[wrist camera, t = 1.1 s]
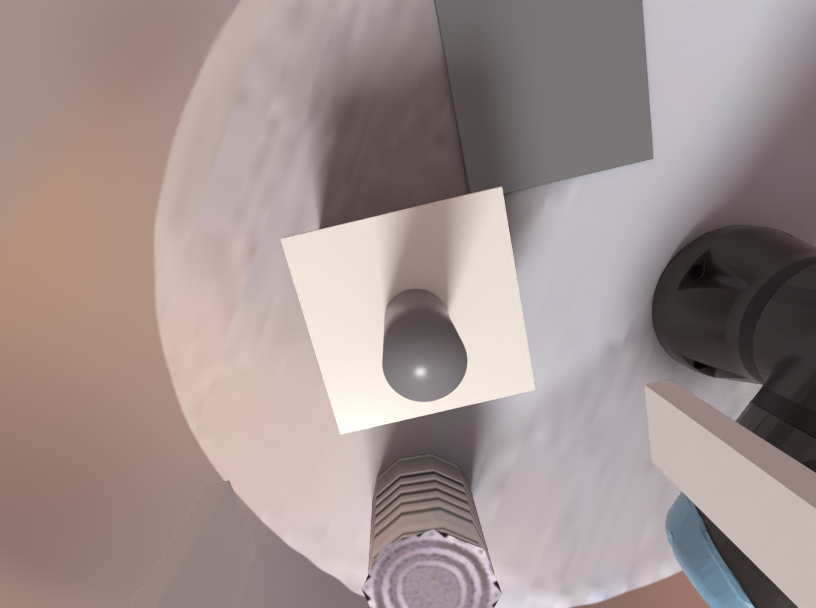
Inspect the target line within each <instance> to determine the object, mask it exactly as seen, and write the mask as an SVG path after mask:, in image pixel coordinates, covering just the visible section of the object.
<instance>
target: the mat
mask: <svg viewBox="0 0 816 608" xmlns="http://www.w3.org/2000/svg"><path fill="white" fill-rule="evenodd" d="M434 2H435V7H436V13H437V18H438V24H439V29H440V35H441V40H442V45H443V51H444V56H445V62H446V67H447V73H448V78H449V83H450V89H451V94H452V100H453V105H454V111H455V116H456V122H457V127H458V132H459V138H460V143H461V149H462V154H463V160H464V165H465V170H466V176H467V181H468V187H469V192H470V193H474V192H479V191H483V190H487V189H491V188H496V187H502V189H503V194H506V193H510V192H514V191H519V190H523V189H527V188H531V187H535V186H540V185H544V184H548V183H552V182H557V181H561V180H565V179H569V178H574V177H578V176H582V175H586V174H590V173H595V172H599V171H603V170H607V169H612V168H616V167H620V166H624V165H629V164H633V163H637V162H641V161H646V160H650V159H653V148H652V134H651V120H650V106H649V92H648V78H647V64H646V50H645V35H644V21H643V7H642V0H434Z"/></svg>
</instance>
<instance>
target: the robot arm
mask: <svg viewBox="0 0 816 608" xmlns="http://www.w3.org/2000/svg"><path fill="white" fill-rule="evenodd" d="M652 318H653V325H654V330H655V333H656V336H657V338H658V340H659V342H660V344H661V345H662V347H663V348H664V350H665V351H666V352H667V353H668V354H669V355H670V356H671V357H672V358H674V359H675V360H676V361H678V362H680V363H681V364H683V365H685V366H687V367H689V368H690V369H692V370H694V371H696V372H698V373H701V374H704V375H707V376H710V377H715V378H722V379H728V380H735V381H742V382H748V383H755V384H762V385H763V386H762V388H761V389H760V390H759V392H758V393H757V394H756V396H755V397H754V398H753V400H752V401H751V402H750V403H749V404H748V406H747V407H746V408H745V410H744V411H743V412H742V414H741V415H740V416H739V417H738V419H737V420H736V421H734V420H732V419H731V418H729V417H728V416H726V415H724V414H723V413H721V412H720V411H718V410H717V409H715V408H714V407H712V406H710V405H709V404H707V403H706V402H704V401H703V400H701V399H699V398H698V397H696V396H695V395H693V394H692V393H690V392H689V391H687V390H685V389H684V388H682V387H681V386H679V385H678V384H676V383H675V382H673V381H671V380H670V379H667V380H663V381H659V382H654V383H650V384H646V385H645V395H646V407H647V418H648V429H649V440H650V452H651V461H652V462H653V463H654V464H655V465H656V466H657V467H658V468H659V469H660V470H661V471H662V472H663V473H664V474H665V475H666V476H667V477H668V478H669V479H670V480H671V481H672V482H673V483H674V484H675V485H676V486H677V487H678V488H679V489H680V490H681V491H682V492H681V493H680V495H679V496H678V498H677V499H676V501H675V502H674V504H673V505H672V507H671V508H670V509H669V511H668V514H667V517H666V533H667V537H668V541H669V543H670V545H671V547H672V549H673V552H674V555H675V557H676V559H677V561H678V562H679V564H680V566H681V568H682V569H683V571H684V572H685V574H686V575H687V577H688V578H689V580H690V581H691V583H692V584H693V585H694V586H695V588H696V589H697V591H698V592H699V593H700V595H701V596H702V597H703V598H704V600H705V601H706V602H707V604H708V605H709V606H710V607H711V608H816V247H813V246H811V245H809V244H807V243H805V242H803V241H801V240H799V239H797V238H795V237H793V236H791V235H789V234H787V233H785V232H782V231H779V230H775V229H770V228H764V227H752V226H731V227H725V228H721V229H717V230H715V231H712V232H709V233H707V234H705V235H703V236H701V237H699V238H698V239H696V240H694V241H693V242H691V243H690V244H689V245H687V246H686V247H685V248H684V249H683V250H682V251H680V252H679V253H678V254H677V255H676V257H675V258H674V259H673V260H672V261H671V263H670V264H669V265H668V267H667V268H666V270H665V271H664V273H663V275H662V277H661V279H660V281H659V283H658V286H657V289H656V292H655V295H654V300H653V307H652ZM256 553H257V548H256V545H255V543H254V540H253V538H252V536H251V533H250V530H249V528H248V525H247V523H246V520H245V518H244V515H243V513H242V510H241V508H240V506H239V503H238V501H237V498H236V496H235V493H234V491H233V488H232V486H231V483H230V481H225V482H221V483H216V484H211V485H207V486H205V487H204V489H203V491H202V492H201V494H200V495H199V497H198V498H197V500H196V502H195V503H194V505H193V506H192V508H191V509H190V511H189V513H188V514H187V516H186V517H185V519H184V520H183V522H182V524H181V525H180V526H179V528H178V530H177V531H176V533H175V534H174V536H173V537H172V539H171V540H170V542H169V544H168V545H167V547H166V549H165V550H164V551H163V553H162V555H161V556H160V558H159V559H158V561H157V563H156V564H155V565H154V567H153V569H152V570H151V572H150V573H149V575H148V576H147V578H146V579H145V581H144V583H143V584H142V586H141V587H140V589H139V590H138V592H137V593H136V595H135V597H134V598H133V600H132V601H131V603H130V604H129V606H128V608H236V607H237V604H238V601H239V599H240V596H241V593H242V591H243V588H244V585H245V583H246V580H247V577H248V575H249V572H250V569H251V567H252V564H253V561H254V558H255V556H256Z"/></svg>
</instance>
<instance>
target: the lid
mask: <svg viewBox="0 0 816 608" xmlns="http://www.w3.org/2000/svg"><path fill="white" fill-rule="evenodd" d="M281 242H282V246H283V249H284V252H285V255H286V259H287V262H288V265H289V269H290V272H291V275H292V278H293V282H294V285H295V288H296V291H297V295H298V298H299V301H300V304H301V308H302V311H303V314H304V317H305V321H306V324H307V327H308V330H309V334H310V337H311V340H312V343H313V347H314V350H315V353H316V356H317V360H318V363H319V366H320V369H321V373H322V376H323V379H324V383H325V386H326V389H327V392H328V396H329V399H330V402H331V405H332V409H333V412H334V415H335V418H336V422H337V425H338V428H339V431H340V435H341V434H345V433H350V432H354V431H358V430H363V429H367V428H371V427H376V426H380V425H385V424H389V423H393V422H398V421H402V420H406V419H411V418H415V417H420V416H424V415H428V414H433V413H437V412H442V411H446V410H450V409H455V408H459V407H463V406H468V405H472V404H477V403H481V402H485V401H490V400H494V399H498V398H503V397H507V396H512V395H516V394H520V393H525V392H529V391H533V390H535V385H534V379H533V373H532V367H531V361H530V354H529V348H528V342H527V336H526V330H525V324H524V318H523V312H522V306H521V299H520V293H519V287H518V281H517V275H516V269H515V263H514V257H513V251H512V244H511V238H510V232H509V226H508V220H507V214H506V208H505V202H504V196H503V189H502V187H496V188H491V189H487V190H483V191H479V192H474V193H470V194H466V195H462V196H458V197H453V198H449V199H445V200H441V201H436V202H432V203H428V204H424V205H420V206H415V207H411V208H407V209H403V210H398V211H394V212H390V213H386V214H381V215H377V216H373V217H369V218H365V219H360V220H356V221H352V222H348V223H343V224H339V225H335V226H331V227H327V228H322V229H318V230H314V231H310V232H305V233H301V234H297V235H293V236H289V237H285V238H282V239H281Z"/></svg>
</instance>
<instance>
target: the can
mask: <svg viewBox="0 0 816 608" xmlns="http://www.w3.org/2000/svg"><path fill="white" fill-rule="evenodd" d="M362 591H363V593H364V595H365V597H366V599H367V601H368V603H369V605H370V607H371V608H494V607H495V605H496V603H497V601H498V600H499V598H500V596H501V594H502V592H501V590H500V587H499V585H498V582H497V580H496V577H495V574H494V570H493V567H492V563H491V560H490V556H489V553H488V549H487V546H486V542H485V538H484V535H483V531H482V528H481V524H480V521H479V517H478V514H477V510H476V506H475V503H474V499H473V496H472V492H471V489H470V487H469V485H468V483H467V481H466V480H465V478H464V476H463V474H462V472H461V470H460V468H459V466H457V465H455V464H453V463H451V462H449V461H446V460H444V459H442V458H440V457H437V456H435V455H433V454H425V455H418V456H411V457H404V458H399V459H398V460H397V461H396V462H395V463H393V464H392V465H391V466H390V467H389V468H388V469H387V470H385V471H384V472H383V473H382V474H381V475H380V476H379V477H377V481H376V486H375V492H374V497H373V502H372V516H371V533H370V550H369V568H368V577H367V579H366V581H365V583H364V585H363V587H362Z"/></svg>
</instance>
